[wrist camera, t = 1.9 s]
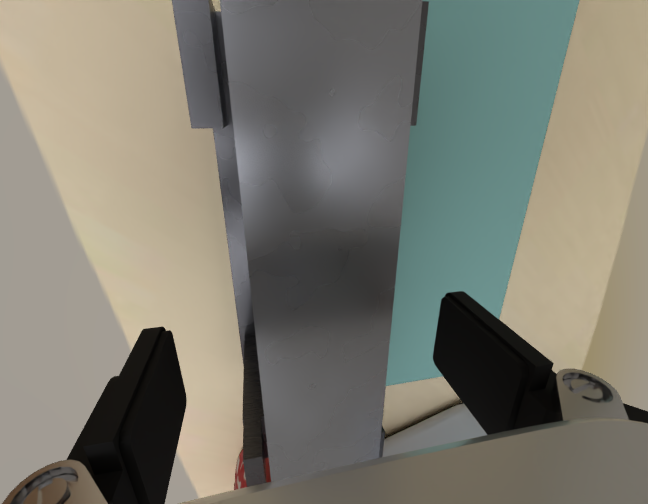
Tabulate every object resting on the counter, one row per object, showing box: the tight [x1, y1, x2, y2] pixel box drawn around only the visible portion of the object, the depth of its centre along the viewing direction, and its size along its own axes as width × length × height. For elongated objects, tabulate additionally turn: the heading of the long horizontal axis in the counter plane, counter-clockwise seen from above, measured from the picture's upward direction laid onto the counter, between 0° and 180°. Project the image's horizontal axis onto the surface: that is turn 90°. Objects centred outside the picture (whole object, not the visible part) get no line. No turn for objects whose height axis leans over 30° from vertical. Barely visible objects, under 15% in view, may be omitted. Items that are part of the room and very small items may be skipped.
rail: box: [220, 0, 422, 482], centre depth 12 cm, size 22×4×4 cm, turn 0°
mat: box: [386, 0, 579, 386], centre depth 22 cm, size 26×9×1 cm, turn 0°
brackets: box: [172, 0, 429, 487], centre depth 16 cm, size 20×7×9 cm, turn 0°
